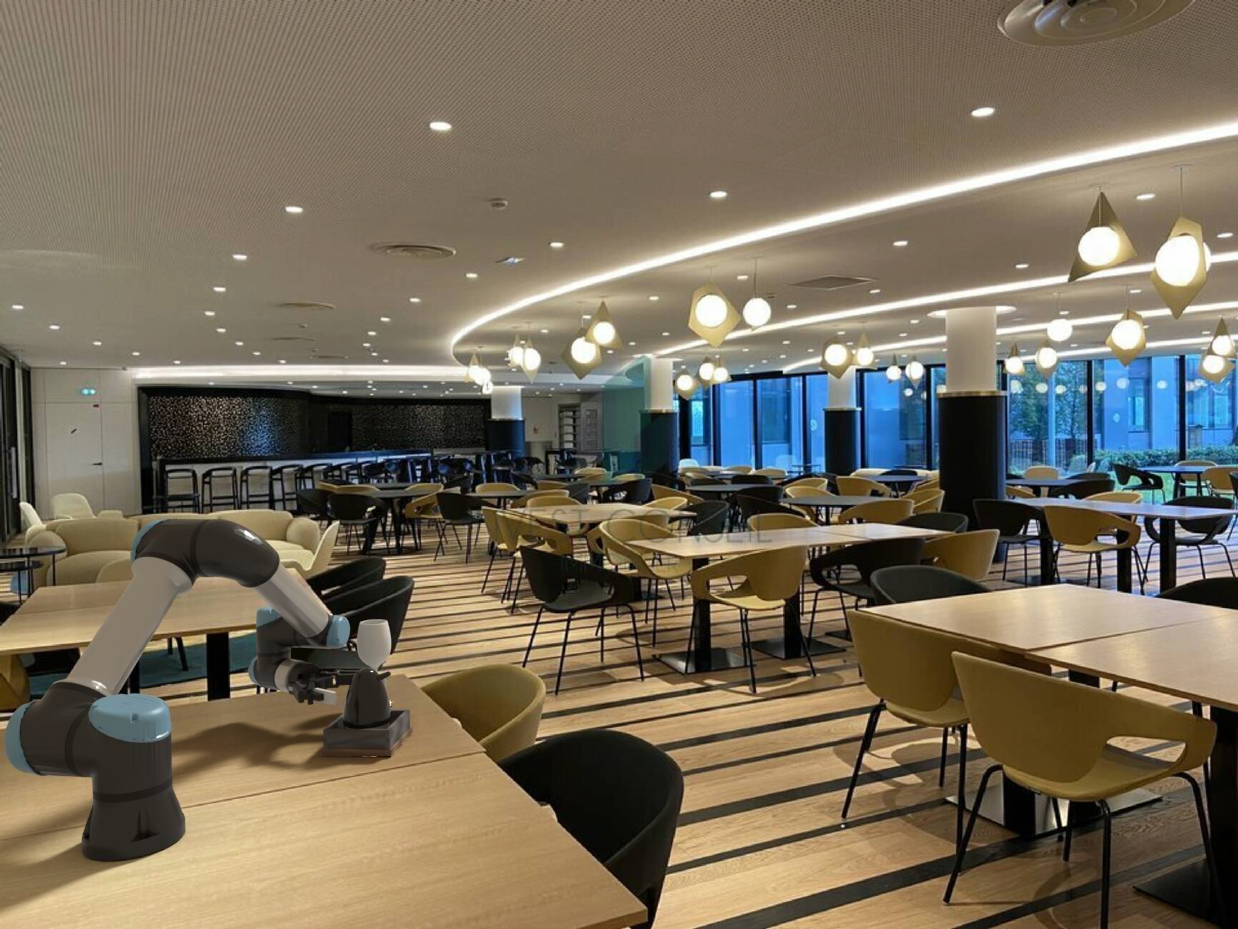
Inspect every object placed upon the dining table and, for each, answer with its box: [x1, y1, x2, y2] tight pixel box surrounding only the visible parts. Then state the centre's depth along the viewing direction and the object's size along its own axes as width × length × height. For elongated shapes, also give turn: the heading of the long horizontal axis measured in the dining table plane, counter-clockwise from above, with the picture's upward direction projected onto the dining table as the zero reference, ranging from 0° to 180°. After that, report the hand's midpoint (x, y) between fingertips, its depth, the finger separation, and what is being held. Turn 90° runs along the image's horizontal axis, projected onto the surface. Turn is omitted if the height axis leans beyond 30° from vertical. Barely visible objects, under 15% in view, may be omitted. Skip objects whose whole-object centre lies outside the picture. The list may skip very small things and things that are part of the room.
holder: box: [320, 709, 414, 757], centre depth 194 cm, size 15×15×6 cm
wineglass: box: [356, 618, 393, 706], centre depth 222 cm, size 9×9×21 cm
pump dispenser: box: [342, 666, 392, 729], centre depth 194 cm, size 10×10×15 cm
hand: (361, 691), depth 196 cm, fingers open, 13 cm apart
